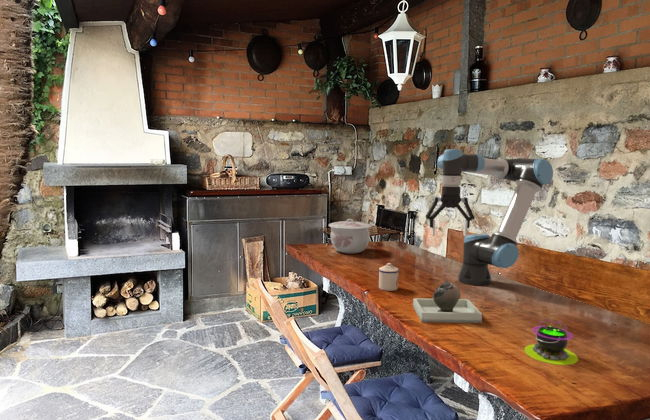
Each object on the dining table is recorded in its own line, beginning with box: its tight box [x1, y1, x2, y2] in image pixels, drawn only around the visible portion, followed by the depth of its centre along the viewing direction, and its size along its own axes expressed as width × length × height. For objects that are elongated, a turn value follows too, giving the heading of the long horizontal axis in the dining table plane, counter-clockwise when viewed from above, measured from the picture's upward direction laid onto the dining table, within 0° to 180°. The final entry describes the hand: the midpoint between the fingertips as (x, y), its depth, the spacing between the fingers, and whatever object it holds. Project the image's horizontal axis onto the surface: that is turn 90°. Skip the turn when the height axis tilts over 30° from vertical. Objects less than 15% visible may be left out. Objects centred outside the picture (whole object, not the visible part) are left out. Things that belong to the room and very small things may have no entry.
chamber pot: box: [328, 218, 373, 255], centre depth 291 cm, size 28×28×21 cm
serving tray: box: [412, 297, 483, 324], centre depth 179 cm, size 22×17×4 cm
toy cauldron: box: [524, 317, 579, 366], centre depth 144 cm, size 15×15×11 cm
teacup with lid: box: [378, 262, 400, 292], centre depth 214 cm, size 12×9×12 cm
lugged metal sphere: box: [432, 279, 461, 312], centre depth 178 cm, size 10×12×10 cm
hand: (449, 235), depth 199 cm, fingers open, 13 cm apart
